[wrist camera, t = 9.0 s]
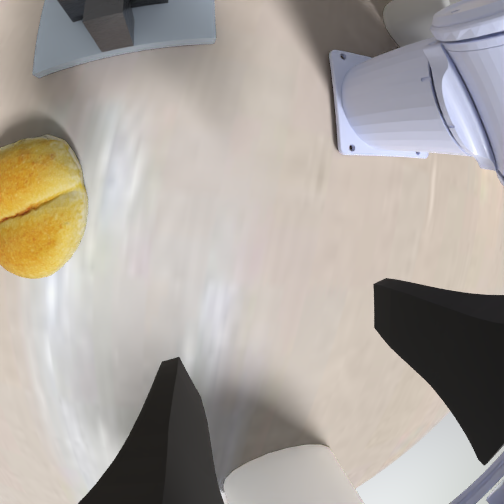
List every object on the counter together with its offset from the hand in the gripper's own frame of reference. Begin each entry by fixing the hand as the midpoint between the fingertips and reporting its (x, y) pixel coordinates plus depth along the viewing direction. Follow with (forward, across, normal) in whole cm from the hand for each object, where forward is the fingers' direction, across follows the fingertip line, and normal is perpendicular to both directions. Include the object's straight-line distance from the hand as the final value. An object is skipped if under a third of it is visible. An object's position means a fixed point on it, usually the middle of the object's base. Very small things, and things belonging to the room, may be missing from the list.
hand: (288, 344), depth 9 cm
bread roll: (+11, +12, -8) cm, 18 cm away
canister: (+11, +3, +33) cm, 35 cm away
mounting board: (+10, +3, -20) cm, 22 cm away
